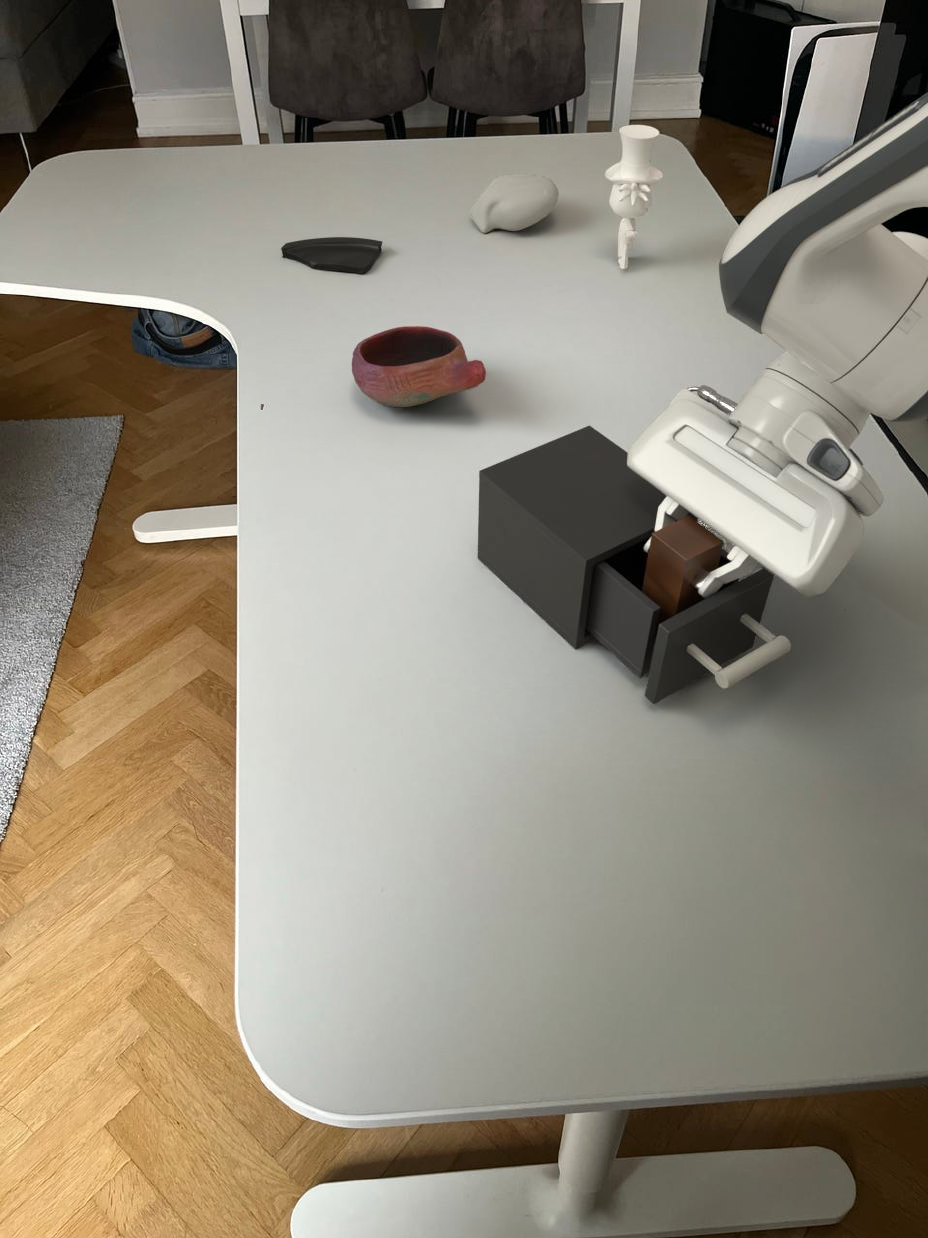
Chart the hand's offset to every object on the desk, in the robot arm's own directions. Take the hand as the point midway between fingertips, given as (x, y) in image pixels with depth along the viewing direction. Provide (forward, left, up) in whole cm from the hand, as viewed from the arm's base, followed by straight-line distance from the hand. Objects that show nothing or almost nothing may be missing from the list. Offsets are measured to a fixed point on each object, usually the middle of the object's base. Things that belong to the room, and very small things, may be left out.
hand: (675, 574), depth 80 cm
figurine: (+30, -70, -9) cm, 77 cm away
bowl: (+38, -26, -9) cm, 47 cm away
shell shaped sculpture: (+50, -76, -9) cm, 92 cm away
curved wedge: (+67, -53, -9) cm, 86 cm away
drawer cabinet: (+10, -6, -9) cm, 15 cm away
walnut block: (0, -1, -4) cm, 4 cm away
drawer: (-1, 0, -8) cm, 8 cm away
